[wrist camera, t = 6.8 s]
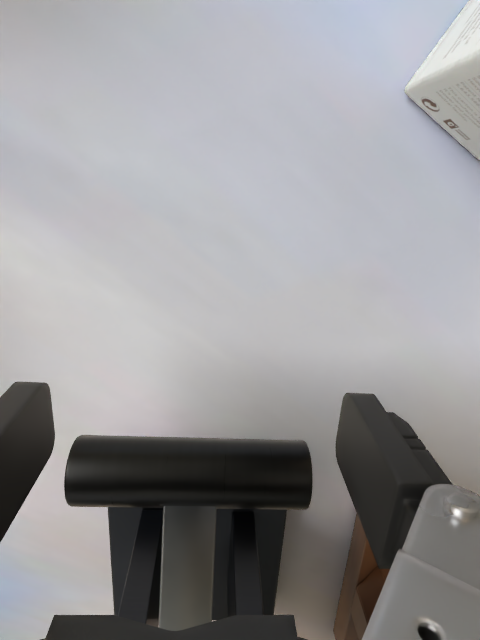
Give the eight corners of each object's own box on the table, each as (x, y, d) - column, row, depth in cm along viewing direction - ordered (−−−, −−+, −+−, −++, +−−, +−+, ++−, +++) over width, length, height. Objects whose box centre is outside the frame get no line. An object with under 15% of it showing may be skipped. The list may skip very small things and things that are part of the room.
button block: (357, 504, 21) (383, 568, 17) (485, 506, 21) (534, 570, 18) (332, 629, 24) (350, 704, 20) (444, 629, 24) (479, 702, 21)
